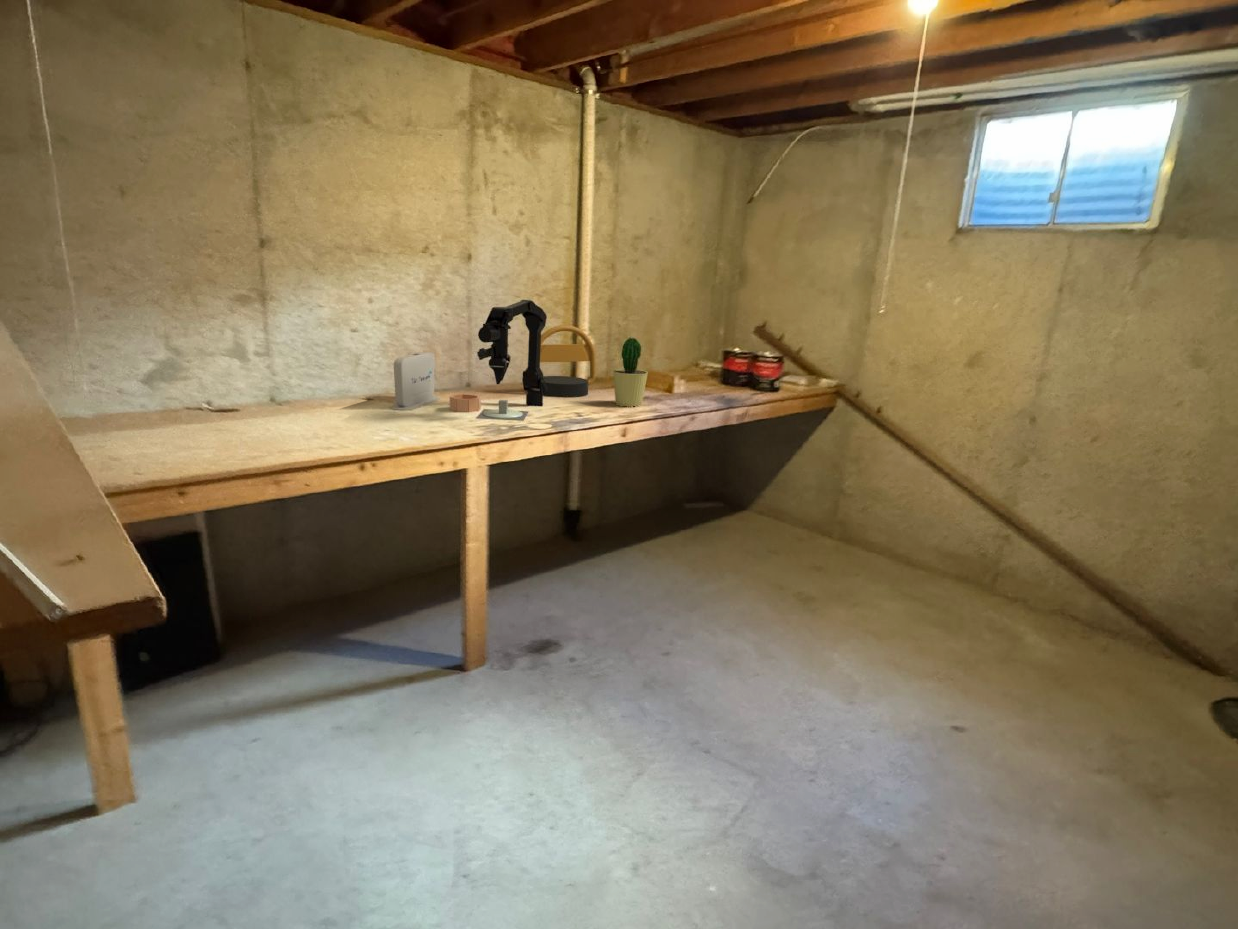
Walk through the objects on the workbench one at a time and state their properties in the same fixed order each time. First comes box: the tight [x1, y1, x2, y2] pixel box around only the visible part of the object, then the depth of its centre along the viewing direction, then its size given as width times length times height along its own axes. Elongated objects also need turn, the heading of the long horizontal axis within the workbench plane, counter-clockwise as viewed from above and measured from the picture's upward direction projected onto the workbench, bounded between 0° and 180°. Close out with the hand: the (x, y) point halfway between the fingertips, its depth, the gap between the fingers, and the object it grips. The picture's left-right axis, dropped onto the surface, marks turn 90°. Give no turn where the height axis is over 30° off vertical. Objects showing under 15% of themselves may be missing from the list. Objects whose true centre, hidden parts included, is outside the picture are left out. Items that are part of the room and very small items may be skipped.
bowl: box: [449, 393, 482, 413], centre depth 273 cm, size 11×11×6 cm
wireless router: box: [389, 351, 441, 411], centre depth 279 cm, size 31×10×20 cm, turn 168°
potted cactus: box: [612, 336, 649, 407], centre depth 300 cm, size 15×15×30 cm
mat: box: [475, 408, 530, 422], centre depth 267 cm, size 18×18×1 cm
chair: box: [540, 324, 597, 399], centre depth 320 cm, size 25×35×32 cm
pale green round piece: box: [484, 399, 523, 419], centre depth 266 cm, size 15×15×6 cm
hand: (499, 382), depth 263 cm, fingers open, 9 cm apart
